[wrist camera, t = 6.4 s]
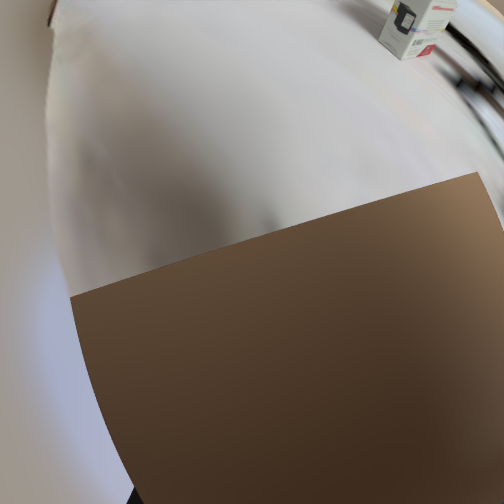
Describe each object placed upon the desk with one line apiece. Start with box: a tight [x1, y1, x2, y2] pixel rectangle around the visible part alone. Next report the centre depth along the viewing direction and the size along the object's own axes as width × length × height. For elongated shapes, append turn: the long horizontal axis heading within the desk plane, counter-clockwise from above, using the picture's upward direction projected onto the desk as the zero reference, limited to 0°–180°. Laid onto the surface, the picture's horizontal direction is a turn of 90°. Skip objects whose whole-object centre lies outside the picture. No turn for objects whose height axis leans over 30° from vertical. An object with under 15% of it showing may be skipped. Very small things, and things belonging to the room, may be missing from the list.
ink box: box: [378, 0, 459, 60], centre depth 25 cm, size 9×5×12 cm, turn 122°
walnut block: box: [70, 172, 504, 504], centre depth 8 cm, size 5×5×13 cm
